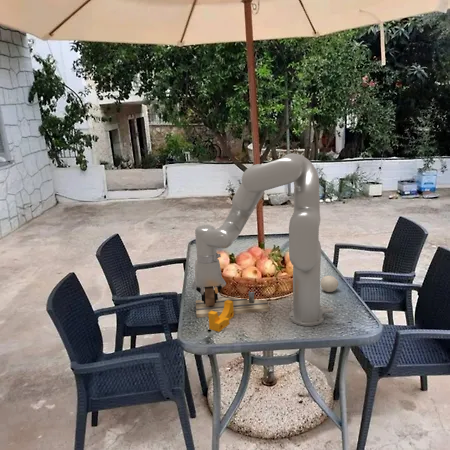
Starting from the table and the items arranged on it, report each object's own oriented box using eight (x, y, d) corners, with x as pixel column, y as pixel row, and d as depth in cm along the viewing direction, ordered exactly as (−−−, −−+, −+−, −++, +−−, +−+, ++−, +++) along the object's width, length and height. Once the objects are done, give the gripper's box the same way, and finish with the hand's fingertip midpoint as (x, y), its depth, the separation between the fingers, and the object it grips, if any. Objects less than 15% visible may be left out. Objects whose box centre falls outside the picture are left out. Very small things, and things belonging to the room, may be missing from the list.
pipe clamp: (219, 332, 144) (218, 315, 142) (209, 329, 147) (208, 312, 145) (237, 318, 154) (237, 302, 152) (228, 315, 156) (227, 299, 154)
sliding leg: (214, 302, 163) (213, 284, 161) (214, 306, 159) (213, 288, 157) (205, 302, 162) (204, 285, 161) (205, 307, 159) (204, 289, 157)
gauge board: (264, 297, 169) (263, 293, 168) (269, 311, 157) (269, 306, 157) (195, 303, 167) (195, 299, 166) (196, 317, 155) (196, 313, 154)
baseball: (341, 292, 170) (341, 277, 168) (325, 295, 168) (325, 280, 166) (333, 286, 176) (333, 272, 174) (317, 289, 174) (317, 274, 173)
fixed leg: (254, 300, 163) (253, 290, 162) (254, 303, 161) (254, 292, 160) (248, 301, 163) (248, 290, 162) (249, 303, 161) (249, 292, 160)
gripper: (227, 252, 160) (229, 296, 165) (185, 256, 159) (188, 299, 163) (229, 259, 153) (232, 304, 157) (185, 262, 151) (188, 308, 156)
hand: (209, 301), depth 160 cm, fingers closed on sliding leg, 3 cm apart
